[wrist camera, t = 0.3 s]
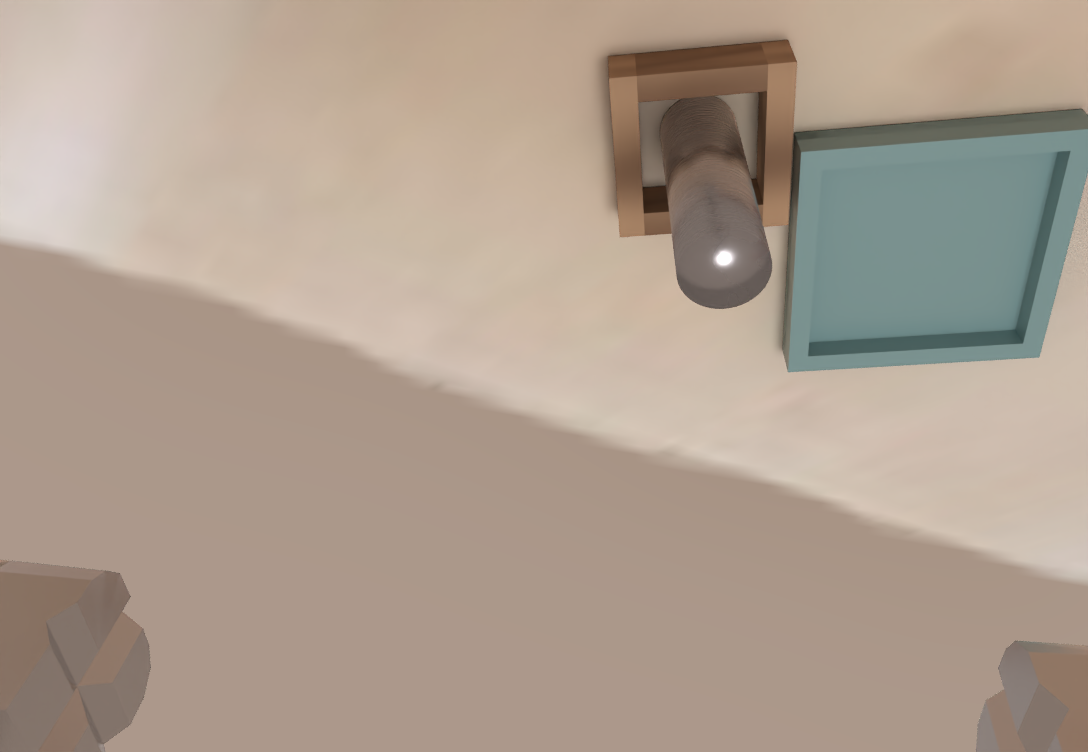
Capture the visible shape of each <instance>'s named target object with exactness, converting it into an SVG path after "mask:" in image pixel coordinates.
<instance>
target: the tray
mask: <svg viewBox="0 0 1088 752" xmlns="http://www.w3.org/2000/svg"><path fill="white" fill-rule="evenodd" d="M1087 173H1088V115H1087V114H1086V113H1085V112H1084V111H1083V109H1077V110H1065V111H1053V112H1040V113H1028V114H1016V115H1004V116H991V117H979V118H967V119H955V120H943V121H930V122H918V123H906V124H894V125H882V126H869V127H857V128H845V129H833V130H821V131H808V132H796V133H794V148H793V167H792V185H791V203H790V222H789V240H788V258H787V277H786V295H785V313H784V332H783V353H784V358H785V362H786V366H787V370H788V372H799V371H816V370H833V369H850V368H867V367H884V366H901V365H918V364H935V363H952V362H969V361H986V360H1003V359H1020V358H1037V357H1040V353H1041V349H1042V345H1043V341H1044V338H1045V334H1046V330H1047V326H1048V322H1049V318H1050V315H1051V311H1052V307H1053V303H1054V299H1055V296H1056V292H1057V288H1058V284H1059V280H1060V276H1061V273H1062V269H1063V265H1064V261H1065V257H1066V254H1067V250H1068V246H1069V242H1070V238H1071V234H1072V231H1073V227H1074V223H1075V219H1076V215H1077V212H1078V208H1079V204H1080V200H1081V196H1082V192H1083V189H1084V185H1085V181H1086V177H1087Z"/></svg>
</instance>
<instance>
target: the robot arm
mask: <svg viewBox="0 0 1088 752" xmlns="http://www.w3.org/2000/svg"><path fill="white" fill-rule="evenodd" d="M130 597H131V596H130V594H129V592H128V590H127V588H126V586H125V583H124V581H123V579H122V577H121V575H120V573H116V572H111V571H104V570H95V569H85V568H75V567H66V566H58V565H48V564H39V563H29V562H20V561H7V560H0V752H105V748H104V743H106V742H107V741H109V740H110V739H111V738H113V737H114V736H115V735H117V734H118V733H120V732H121V731H122V730H123V729H125V728H126V727H128V726H129V725H130V724H131V722H132V720H133V718H134V716H135V714H136V712H137V710H138V708H139V706H140V704H141V702H142V700H143V698H144V694H145V690H146V686H147V681H148V677H149V672H150V668H151V667H150V651H149V644H148V641H147V638H146V636H145V633H144V630H143V628H142V627H141V626H139V625H138V624H137V623H136V622H135V621H133V620H132V619H131V618H130V617H128V616H127V615H126V614H125V613H123V612H122V611H123V609H124V607H125V605H126V604H127V602H128V601H129V599H130ZM998 669H999V673H1000V676H1001V680H1002V683H1003V686H1004V690H1002V691H1000V692H999V693H997V694H995V695H994V696H992V697H991V698H989V699H987V700H986V701H985V704H984V707H983V710H982V713H981V716H980V719H979V723H978V729H977V730H978V731H977V747H976V752H1088V646H1086V645H1072V644H1056V643H1042V642H1027V641H1014V642H1013V643H1012V644H1011V645H1010V646H1009V647H1008V648H1006V650H1005V652H1004V655H1003V657H1002V660H1001V662H1000V665H999V667H998Z"/></svg>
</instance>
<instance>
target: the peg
mask: <svg viewBox="0 0 1088 752" xmlns="http://www.w3.org/2000/svg"><path fill="white" fill-rule="evenodd" d="M660 138H661V147H662V155H663V164H664V172H665V181H666V189H667V198H668V206H669V215H670V223H671V232H672V240H673V249H674V257H675V266H676V274H677V280H678V284H679V286H680V288H681V290H682V291H683V293H684V294H685V295H686V296H687V297H688V298H689V299H690V300H692V301H693V302H695V303H697V304H699V305H702V306H705V307H708V308H715V309H725V308H732V307H736V306H739V305H742V304H744V303H746V302H748V301H750V300H752V299H753V298H754V297H756V296H757V295H758V294H759V293H760V292H761V291H762V290H763V289H764V287H765V286H766V284H767V283H768V281H769V278H770V276H771V272H772V260H771V255H770V251H769V247H768V243H767V239H766V236H765V232H764V228H763V224H762V220H761V216H760V212H759V208H758V204H757V200H756V197H755V193H754V189H753V185H752V181H751V177H750V173H749V169H748V165H747V161H746V158H745V154H744V150H743V146H742V142H741V138H740V134H739V130H738V126H737V122H736V119H735V116H734V113H733V112H732V110H731V108H730V107H729V106H728V105H727V104H726V103H725V102H724V101H722V100H720V99H719V98H717V97H714V96H705V97H694V98H683V99H681V100H680V101H678V102H677V103H675V104H674V105H673V106H672V107H671V108H670V109H669V110H668V111H667V113H666V114H665V116H664V118H663V120H662V123H661V127H660Z"/></svg>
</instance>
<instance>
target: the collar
mask: <svg viewBox="0 0 1088 752" xmlns="http://www.w3.org/2000/svg"><path fill="white" fill-rule="evenodd" d="M608 68H609V88H610V102H611V117H612V131H613V146H614V160H615V174H616V189H617V203H618V217H619V232H620V237H630V236H643V235H657V234H671V233H672V232H671V223H670V215H669V206H668V198H667V189H666V186H661V187H648V188H642V171H641V152H640V132H639V113H638V102H647V101H659V100H670V99H682V98H694V97H705V96H717V95H728V94H740V93H752V92H759V114H758V148H757V179H751V181H752V185H753V189H754V193H755V197H756V200H757V204H758V208H759V212H760V216H761V220H762V224H763V227H767V226H780V225H788V219H789V201H790V182H791V163H792V145H793V126H794V107H795V89H796V70H797V61H796V58H795V56H794V53H793V51H792V48H791V46H790V44H789V41H788V40H782V41H771V42H760V43H749V44H738V45H727V46H716V47H705V48H694V49H683V50H672V51H661V52H650V53H639V54H628V55H617V56H608Z"/></svg>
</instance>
